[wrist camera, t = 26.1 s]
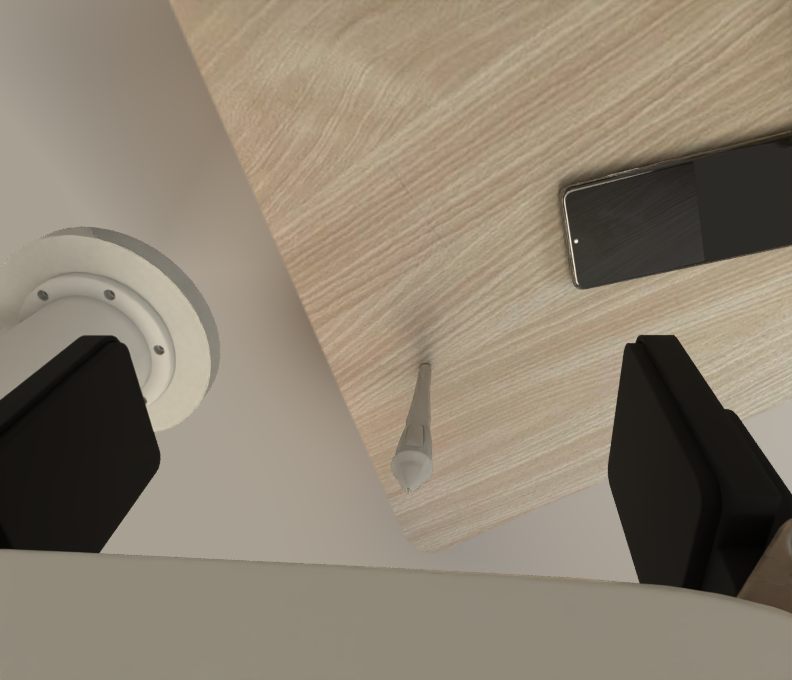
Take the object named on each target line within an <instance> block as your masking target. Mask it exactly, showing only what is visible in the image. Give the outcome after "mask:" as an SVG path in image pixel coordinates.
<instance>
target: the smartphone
mask: <svg viewBox="0 0 792 680" xmlns="http://www.w3.org/2000/svg"><path fill="white" fill-rule="evenodd" d="M559 201H560V208H561V214H562V221H563V227H564V234H565V240H566V247H567V253H568V259H569V266H570V272H571V278H572V282H573V284H574V286H575V287H576V288H578V289H582V290H584V289H590V288H594V287H599V286H604V285H609V284H613V283H618V282H623V281H627V280H632V279H637V278H642V277H646V276H651V275H656V274H661V273H665V272H670V271H675V270H680V269H684V268H689V267H694V266H699V265H703V264H708V263H713V262H717V261H722V260H727V259H732V258H736V257H741V256H746V255H751V254H755V253H760V252H765V251H770V250H774V249H779V248H784V247H789V246H792V130H790V131H786V132H782V133H778V134H774V135H770V136H766V137H762V138H758V139H754V140H750V141H746V142H742V143H738V144H734V145H730V146H726V147H721V148H717V149H713V150H709V151H705V152H701V153H697V154H693V155H689V156H685V157H681V158H677V159H672V160H671V159H670V160H666V161H662V162H658V163H655V164H652V165H648V166H644V167H640V168H639V167H638V168H633V169H629V170H625V171H621V172H617V173H613V174H609V175H607V176H604V177H600V178H596V179H592V180H588V181H584V182H580V183H576V184H571V185H568V186H566V187H564V188H563V189H562V190H561V192H560V196H559Z"/></svg>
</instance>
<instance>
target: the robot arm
mask: <svg viewBox="0 0 792 680" xmlns="http://www.w3.org/2000/svg"><path fill="white" fill-rule="evenodd" d="M174 370H175V351H174V346H173V341H172V339H171V337H170V334H169V332H168V329H167V327H166V326H165V324H164V323H163V321H162V319H161V318H160V316H159V315H158V314H157V313H156V311H155V310H154V309H153V308H152V307H151V306H150V305H149V303H147V302H146V301H145V300H144V299H143V298H142V297H140V296H139V295H138V294H137V293H136V292H134V291H132V290H131V289H129V288H128V287H126V286H124V285H123V284H121V283H119V282H116V281H114V280H112V279H110V278H107V277H104V276H100V275H96V274H92V273H81V272H74V273H65V274H61V275H58V276H55V277H52V278H50V279H48V280H46V281H45V282H43V283H41V284H39V285H38V286H37V287H36V288H35V289H33V290H32V291H31V292H30V293H29V294H28V296H27V297H26V299H25V300H24V302H23V304H22V307H21V310H20V313H19V324H18V325H16V326H15V327H13V328H12V329H10V330H4V331H1V332H0V680H792V494H791V493H790V491H789V490H788V488H787V487H786V485H785V484H784V482H783V481H782V479H781V478H780V477H779V475H778V474H777V472H776V471H775V469H774V468H773V466H772V465H771V463H770V462H769V461H768V459H767V458H766V456H765V455H764V454H763V452H762V450H761V449H760V448H759V446H758V445H757V443H756V442H755V440H754V439H753V437H752V436H751V435H750V433H749V432H748V430H747V429H746V427H745V426H744V424H743V423H742V421H741V420H740V419H739V417H738V416H737V415H736V414H735V413H734V412H733V411H732V410H728V409H724V408H723V406H722V405H721V403H720V402H719V400H718V399H717V397H716V396H715V394H714V393H713V391H712V390H711V388H710V387H709V385H708V384H707V382H706V381H705V379H704V378H703V376H702V375H701V373H700V372H699V370H698V369H697V367H696V366H695V364H694V363H693V361H692V360H691V358H690V357H689V355H688V354H687V352H686V351H685V349H684V348H683V346H682V345H681V343H680V342H679V340H678V339H677V337H675V336H674V335H639V336H638V337H637V340H636V343H627V344H626V346H625V349H624V354H623V362H622V369H621V376H620V383H619V390H618V397H617V405H616V412H615V419H614V426H613V433H612V440H611V447H610V455H609V462H608V478H609V484H610V488H611V491H612V494H613V497H614V501H615V504H616V507H617V511H618V514H619V517H620V520H621V524H622V527H623V530H624V533H625V537H626V540H627V543H628V547H629V550H630V553H631V556H632V560H633V563H634V566H635V569H636V573H637V575H638V579H639V583H629V582H616V581H604V580H593V579H581V578H568V577H551V576H533V575H514V574H496V573H478V572H460V571H441V570H423V569H405V568H385V567H364V566H345V565H325V564H304V563H284V562H263V561H243V560H241V561H240V560H221V559H201V558H181V557H162V556H142V555H141V556H140V555H122V554H102V553H100V551H101V550H102V548H103V547H104V546H105V544H106V543H107V541H108V540H109V539H110V537H111V536H112V534H113V533H114V531H115V530H116V529H117V527H118V526H119V524H120V523H121V522H122V520H123V519H124V517H125V516H126V515H127V513H128V512H129V510H130V509H131V507H132V506H133V505H134V503H135V502H136V500H137V499H138V497H139V496H140V495H141V493H142V492H143V490H144V489H145V487H146V486H147V485H148V483H149V482H150V480H151V479H152V478H153V476H154V475H155V473H156V472H157V470H158V468H159V464H160V451H159V447H158V444H157V441H156V437H155V434H154V431H153V428H152V424H151V421H150V418H149V414H148V411H147V408H146V407H148V406H150V405H152V404H153V403H154V402H155V401H156V400H158V399H159V398H160V397H161V395H162V394H163V393H164V392H165V391H166V389H167V388H168V386H169V384H170V382H171V380H172V379H173V375H174Z"/></svg>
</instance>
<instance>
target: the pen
mask: <svg viewBox="0 0 792 680" xmlns="http://www.w3.org/2000/svg"><path fill="white" fill-rule="evenodd" d="M430 382H431V366H430V365H428V364H422V365H421V367H420V370H419V373H418V378H417V383H416V388H415V392H414V396H413V400H412V404H411V407H410V410H409V414H408V416H407V420H406V427H405V429H404V431H403V433H402V436H401V438H400V441H399V444H398V446H397V450H396V454H395V456H394V457H393V460H392V464H391V468H392V473H393V475H394V476H395V478H396V479H397V480H398V482H399V484H400V485H401V487H402V488H403V489H404V490H405V491H406V492H407V493H411V492H413V491H415V490H417V489H418V488H419V487H420V486H421V485H422V484H423V483H425V482H426V481H427V480H428V479H429V478H430V477H431V474H432V471H433V467H432V461H431V460H432V440H431V432H430V422H431V411H430Z"/></svg>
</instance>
